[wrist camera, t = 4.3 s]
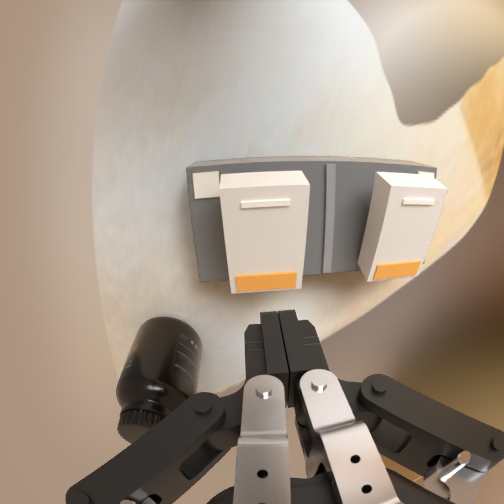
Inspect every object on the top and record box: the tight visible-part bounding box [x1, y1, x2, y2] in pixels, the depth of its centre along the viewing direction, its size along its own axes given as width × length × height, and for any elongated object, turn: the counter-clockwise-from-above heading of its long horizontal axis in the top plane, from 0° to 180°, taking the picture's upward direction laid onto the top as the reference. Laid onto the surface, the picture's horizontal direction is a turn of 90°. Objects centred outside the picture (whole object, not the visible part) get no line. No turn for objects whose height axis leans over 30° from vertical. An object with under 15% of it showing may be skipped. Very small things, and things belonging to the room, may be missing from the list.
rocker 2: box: [358, 172, 448, 282], centre depth 16 cm, size 7×4×2 cm, turn 3°
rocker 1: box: [219, 171, 310, 294], centre depth 16 cm, size 7×4×2 cm, turn 3°
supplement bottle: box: [116, 317, 201, 444], centre depth 21 cm, size 7×7×12 cm
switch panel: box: [186, 156, 437, 282], centre depth 20 cm, size 8×18×4 cm, turn 93°
